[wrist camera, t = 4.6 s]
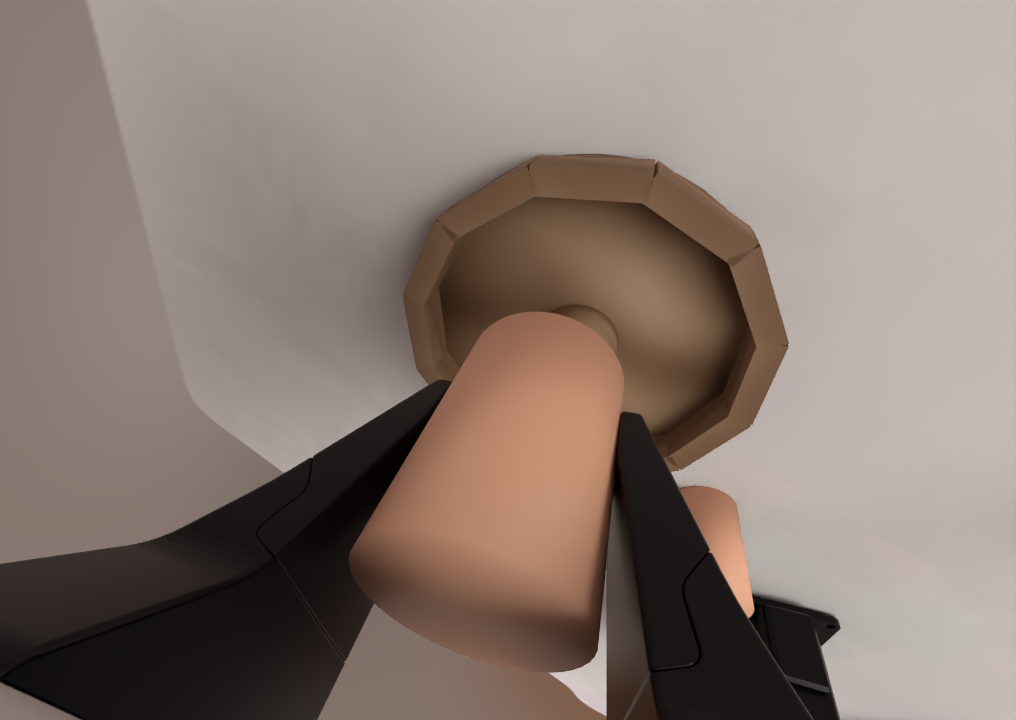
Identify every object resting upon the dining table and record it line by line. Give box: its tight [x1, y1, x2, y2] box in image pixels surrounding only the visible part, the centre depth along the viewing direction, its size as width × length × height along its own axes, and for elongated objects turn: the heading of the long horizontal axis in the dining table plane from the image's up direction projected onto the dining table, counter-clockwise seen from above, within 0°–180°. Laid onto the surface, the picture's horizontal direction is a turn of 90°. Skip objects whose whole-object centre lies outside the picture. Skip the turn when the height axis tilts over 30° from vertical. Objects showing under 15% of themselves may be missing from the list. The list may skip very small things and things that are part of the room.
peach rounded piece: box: [349, 312, 624, 673], centre depth 8 cm, size 4×4×6 cm
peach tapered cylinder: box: [680, 486, 754, 618], centre depth 23 cm, size 4×4×6 cm
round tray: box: [403, 154, 789, 472], centre depth 19 cm, size 15×15×2 cm
